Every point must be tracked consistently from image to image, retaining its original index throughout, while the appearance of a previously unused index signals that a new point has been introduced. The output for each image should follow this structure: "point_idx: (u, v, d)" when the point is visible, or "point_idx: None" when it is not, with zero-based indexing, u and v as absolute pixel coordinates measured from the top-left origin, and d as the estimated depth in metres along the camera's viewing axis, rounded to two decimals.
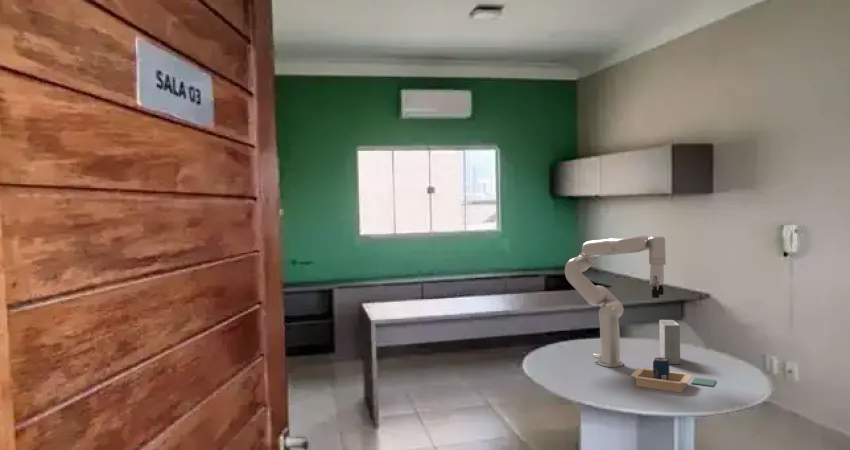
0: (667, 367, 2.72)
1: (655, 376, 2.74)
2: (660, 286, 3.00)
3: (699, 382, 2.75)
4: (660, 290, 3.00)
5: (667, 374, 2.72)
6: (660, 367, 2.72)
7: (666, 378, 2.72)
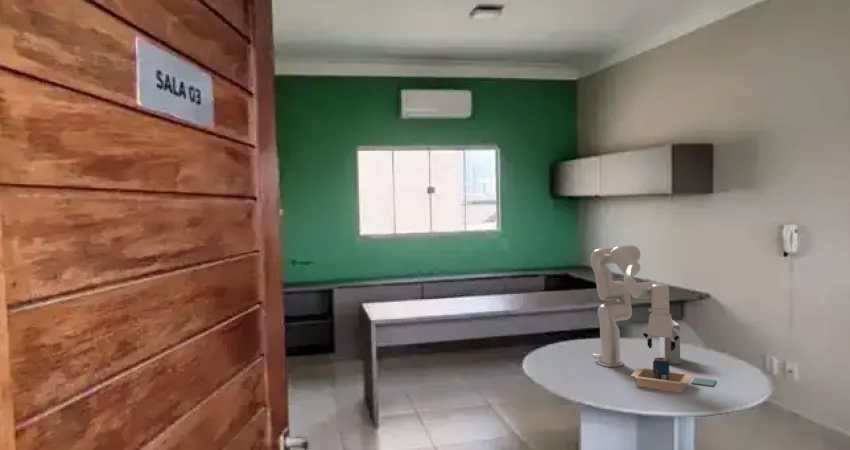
0: (667, 367, 2.72)
1: (655, 376, 2.74)
2: (650, 338, 2.77)
3: (699, 382, 2.75)
4: (651, 343, 2.77)
5: (667, 374, 2.72)
6: (660, 367, 2.72)
7: (666, 378, 2.72)
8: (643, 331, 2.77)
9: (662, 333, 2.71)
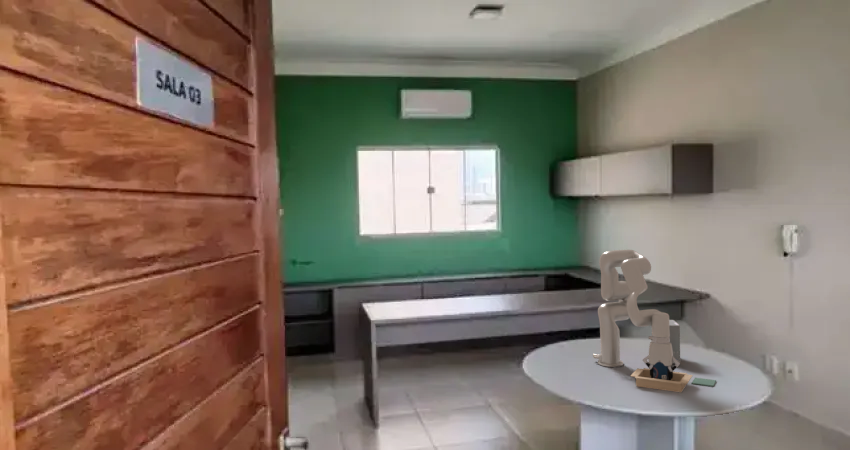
0: (667, 367, 2.72)
1: (655, 376, 2.74)
2: None
3: (699, 382, 2.75)
4: None
5: (667, 374, 2.72)
6: (660, 367, 2.72)
7: (666, 378, 2.72)
8: (645, 361, 2.78)
9: (662, 362, 2.72)
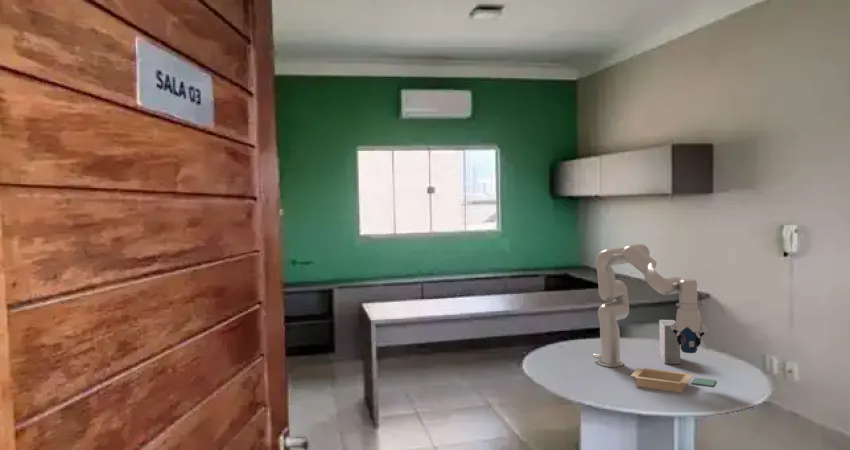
0: (695, 333, 2.72)
1: (682, 342, 2.74)
2: None
3: (699, 382, 2.75)
4: None
5: (695, 340, 2.72)
6: (688, 333, 2.72)
7: (694, 344, 2.72)
8: (672, 328, 2.78)
9: (690, 328, 2.72)
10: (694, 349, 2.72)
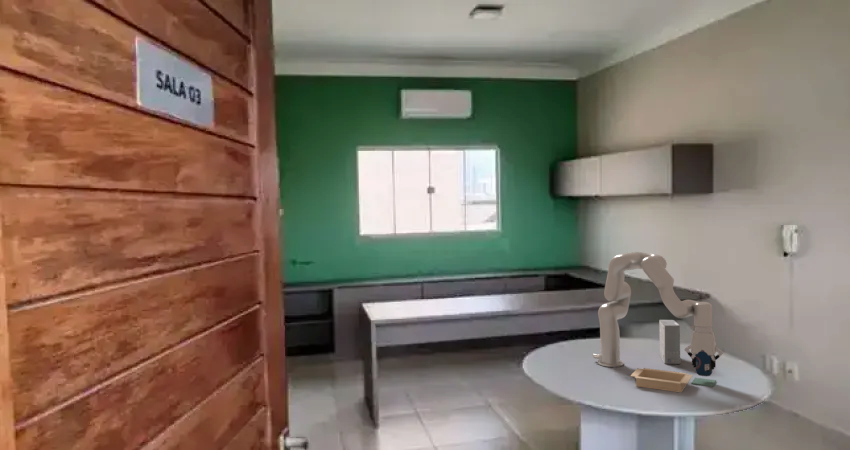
0: (710, 356, 2.73)
1: (698, 365, 2.75)
2: None
3: (699, 382, 2.75)
4: None
5: (710, 363, 2.73)
6: (703, 356, 2.73)
7: (709, 367, 2.73)
8: (687, 351, 2.79)
9: (705, 351, 2.73)
10: (709, 372, 2.73)
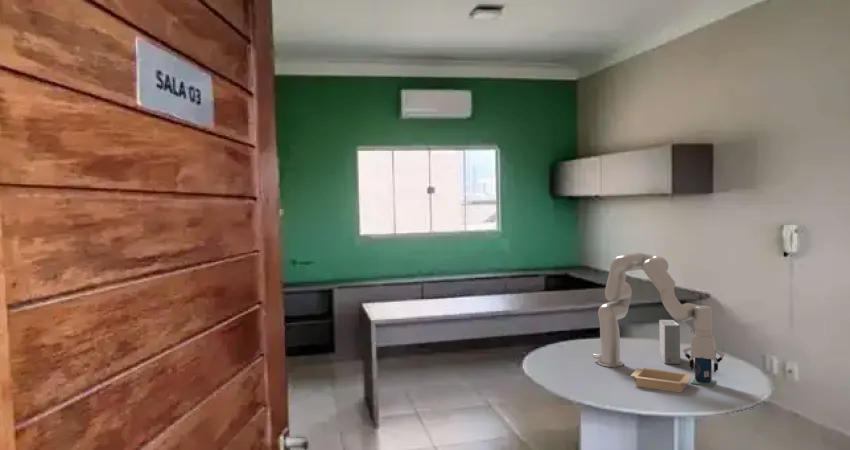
0: (709, 363, 2.73)
1: (697, 372, 2.75)
2: (692, 359, 2.79)
3: None
4: (693, 364, 2.79)
5: (709, 370, 2.73)
6: (703, 363, 2.73)
7: (708, 374, 2.73)
8: (685, 352, 2.79)
9: (705, 355, 2.73)
10: (709, 379, 2.73)
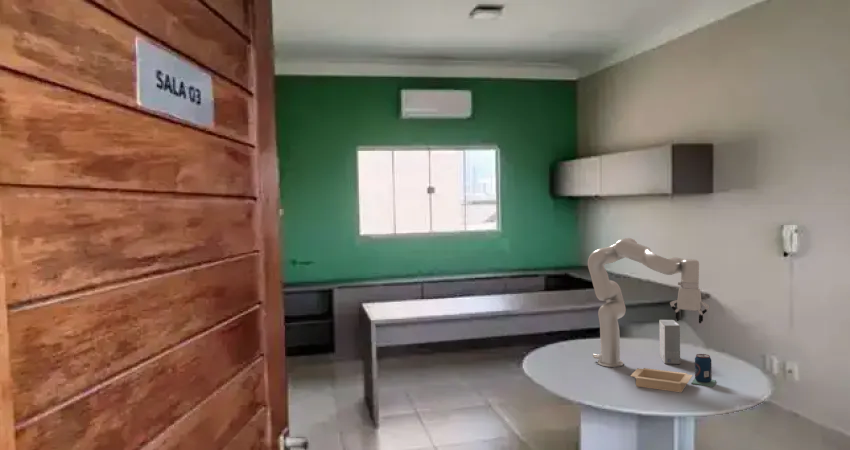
0: (709, 363, 2.73)
1: (697, 372, 2.75)
2: None
3: None
4: (679, 315, 2.87)
5: (709, 370, 2.73)
6: (703, 363, 2.73)
7: (708, 374, 2.73)
8: (672, 305, 2.88)
9: (691, 306, 2.81)
10: (709, 379, 2.73)
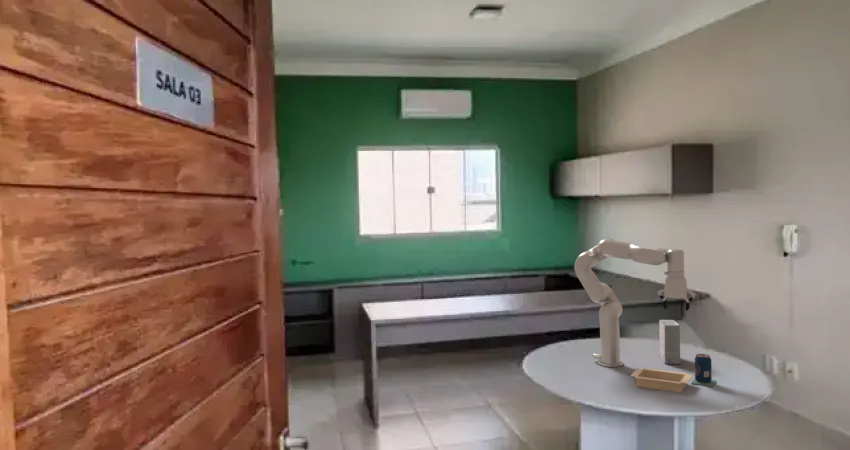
0: (709, 363, 2.73)
1: (697, 372, 2.75)
2: (666, 300, 2.97)
3: None
4: (666, 304, 2.97)
5: (709, 370, 2.73)
6: (703, 363, 2.73)
7: (708, 374, 2.73)
8: (659, 294, 2.98)
9: (677, 295, 2.91)
10: (709, 379, 2.73)
